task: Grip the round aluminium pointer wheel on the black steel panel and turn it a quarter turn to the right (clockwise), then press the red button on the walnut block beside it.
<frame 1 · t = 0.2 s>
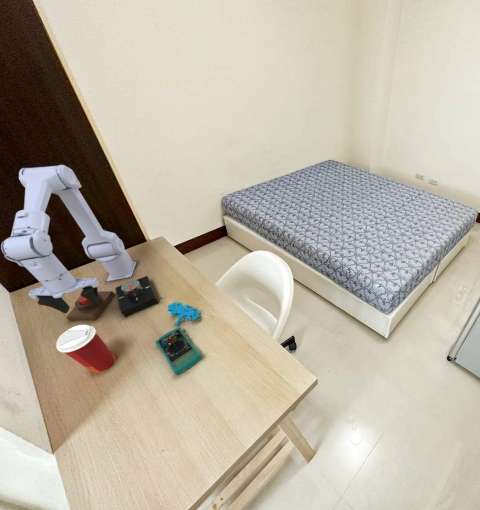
hand: (83, 307, 78), 10 cm above the table, tool pointing down, fingers open, 7 cm apart
button block: (93, 307, 90), on the table
paper cup: (103, 364, 75), on the table
button: (86, 298, 87), point 4 cm above the table, slide at 0.1 cm
dial: (132, 288, 91), point 5 cm above the table, hinge at 0.0°
dial panel: (138, 298, 94), on the table
blue toy tree: (187, 318, 88), on the table
digital multimeter: (180, 352, 78), on the table
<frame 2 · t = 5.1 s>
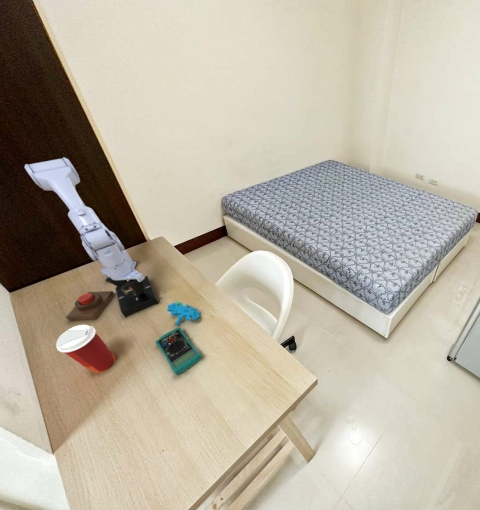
hand: (134, 291, 92), 4 cm above the table, tool pointing down, fingers closed on dial, 5 cm apart
dial: (132, 288, 91), point 5 cm above the table, hinge at 0.0°, touching gripper
everything else where it was.
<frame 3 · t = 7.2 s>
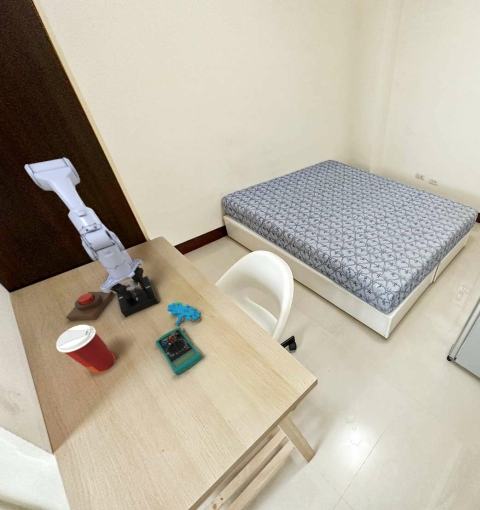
hand: (134, 291, 92), 3 cm above the table, tool pointing down, fingers closed on dial, 5 cm apart
dial: (132, 288, 91), point 5 cm above the table, hinge at -87.8°, touching gripper
everything else where it was.
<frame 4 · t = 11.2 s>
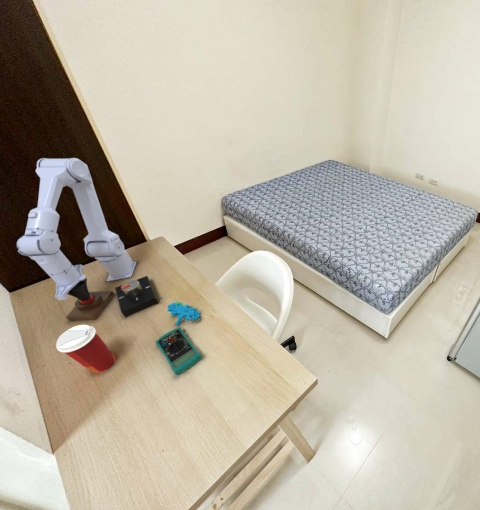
hand: (86, 298, 87), 5 cm above the table, tool pointing down, fingers closed, pressing on button
button: (87, 300, 88), point 4 cm above the table, slide at -0.7 cm, touching gripper
dial: (132, 288, 91), point 5 cm above the table, hinge at -87.2°
everything else where it was.
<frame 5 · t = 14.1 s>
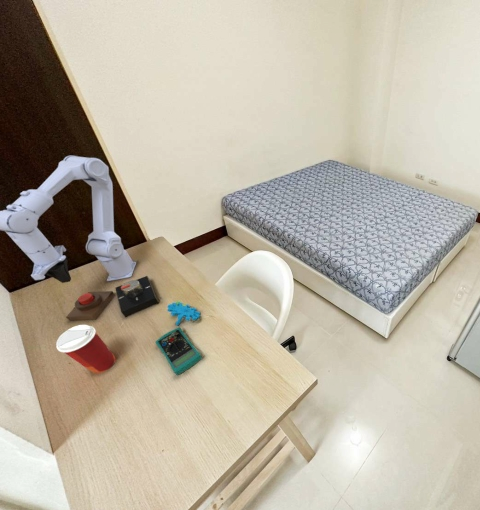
hand: (66, 280, 85), 10 cm above the table, tool pointing down, fingers closed
button: (86, 298, 87), point 4 cm above the table, slide at 0.1 cm
everything else where it was.
at the end: dial at -87° (first picture: +0°); button pushed in 1.2 cm at the most during the clip, back to where it started at the end; button slide at 0.1 cm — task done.
